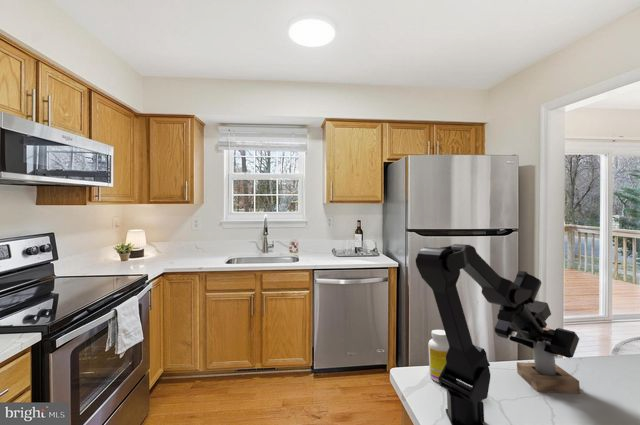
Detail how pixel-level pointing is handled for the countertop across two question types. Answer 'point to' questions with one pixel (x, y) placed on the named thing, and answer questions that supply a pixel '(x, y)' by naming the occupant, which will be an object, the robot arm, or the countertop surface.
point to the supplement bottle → (437, 353)
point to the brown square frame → (548, 379)
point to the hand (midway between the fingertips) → (546, 351)
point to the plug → (543, 359)
